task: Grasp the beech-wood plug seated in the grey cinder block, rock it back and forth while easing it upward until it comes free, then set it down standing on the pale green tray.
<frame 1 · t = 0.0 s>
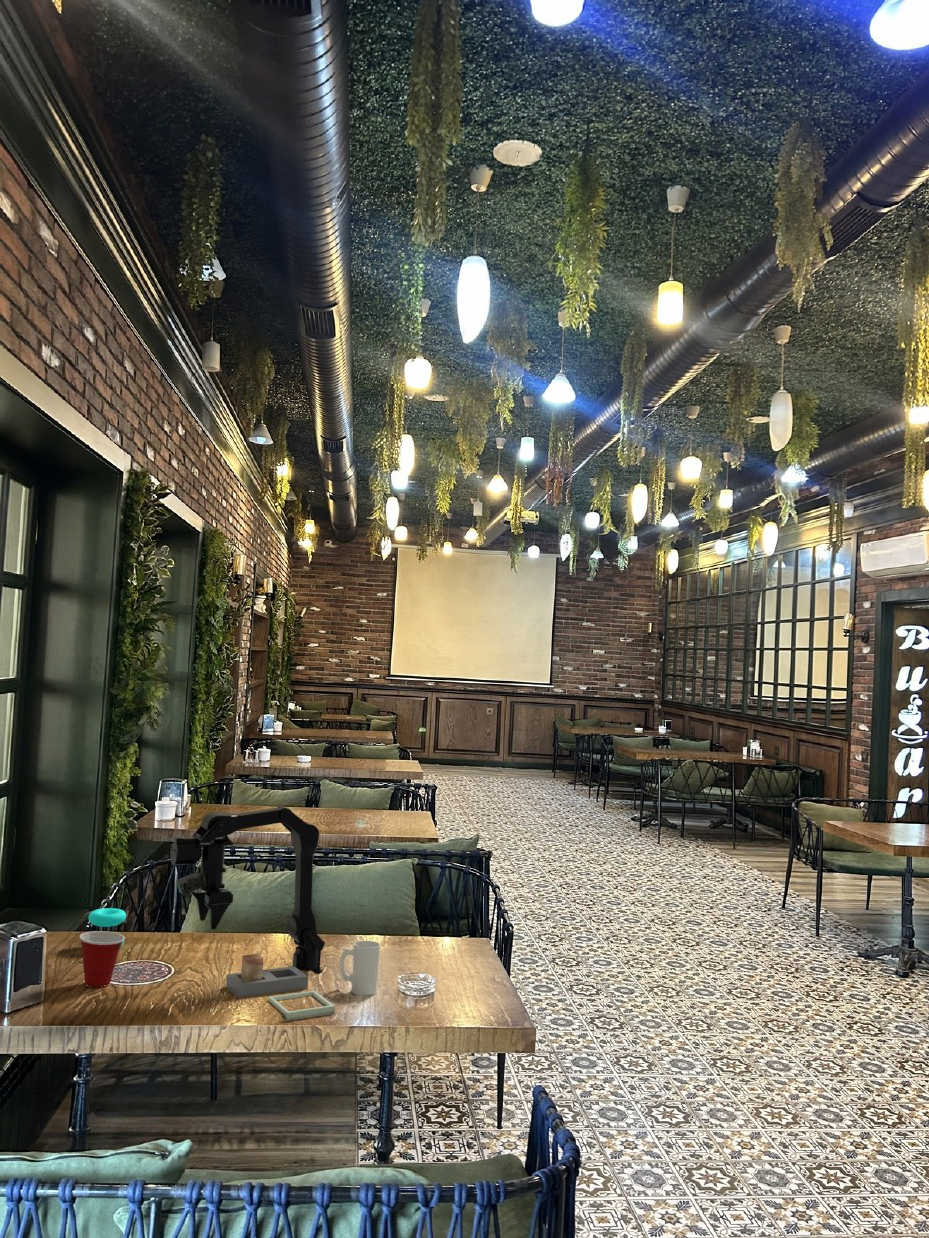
hand: (207, 924, 239), 15 cm above the table, fingers open, 9 cm apart
tray: (300, 1008, 224), on the table
plastic cup: (98, 984, 233), on the table
plug: (250, 989, 232), point 1 cm above the table, touching grey cinder block
grey cinder block: (266, 991, 235), on the table
donuts: (104, 947, 264), on the table
mug: (357, 992, 238), on the table
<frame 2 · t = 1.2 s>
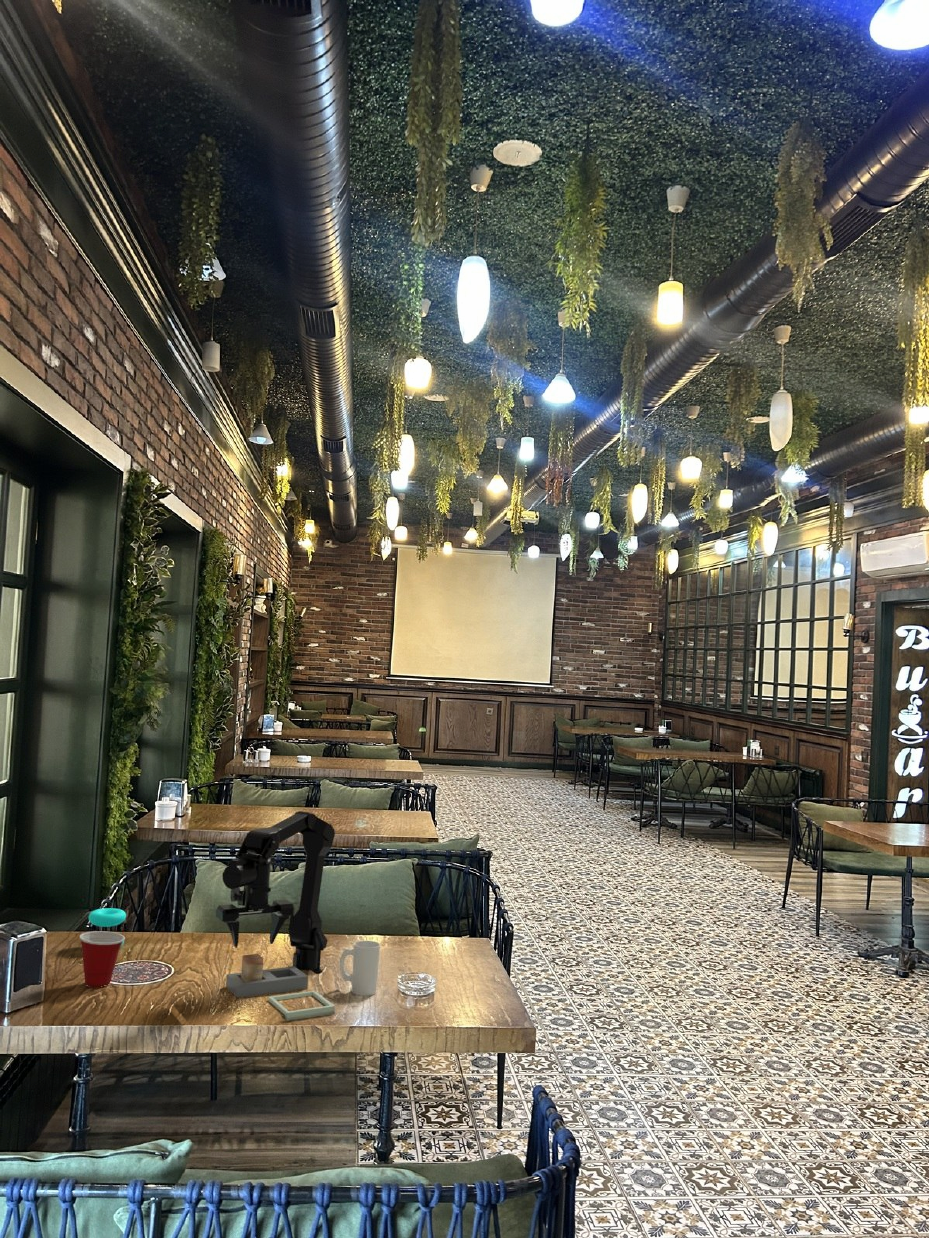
hand: (253, 945, 233), 12 cm above the table, fingers open, 9 cm apart
nothing on the table moved.
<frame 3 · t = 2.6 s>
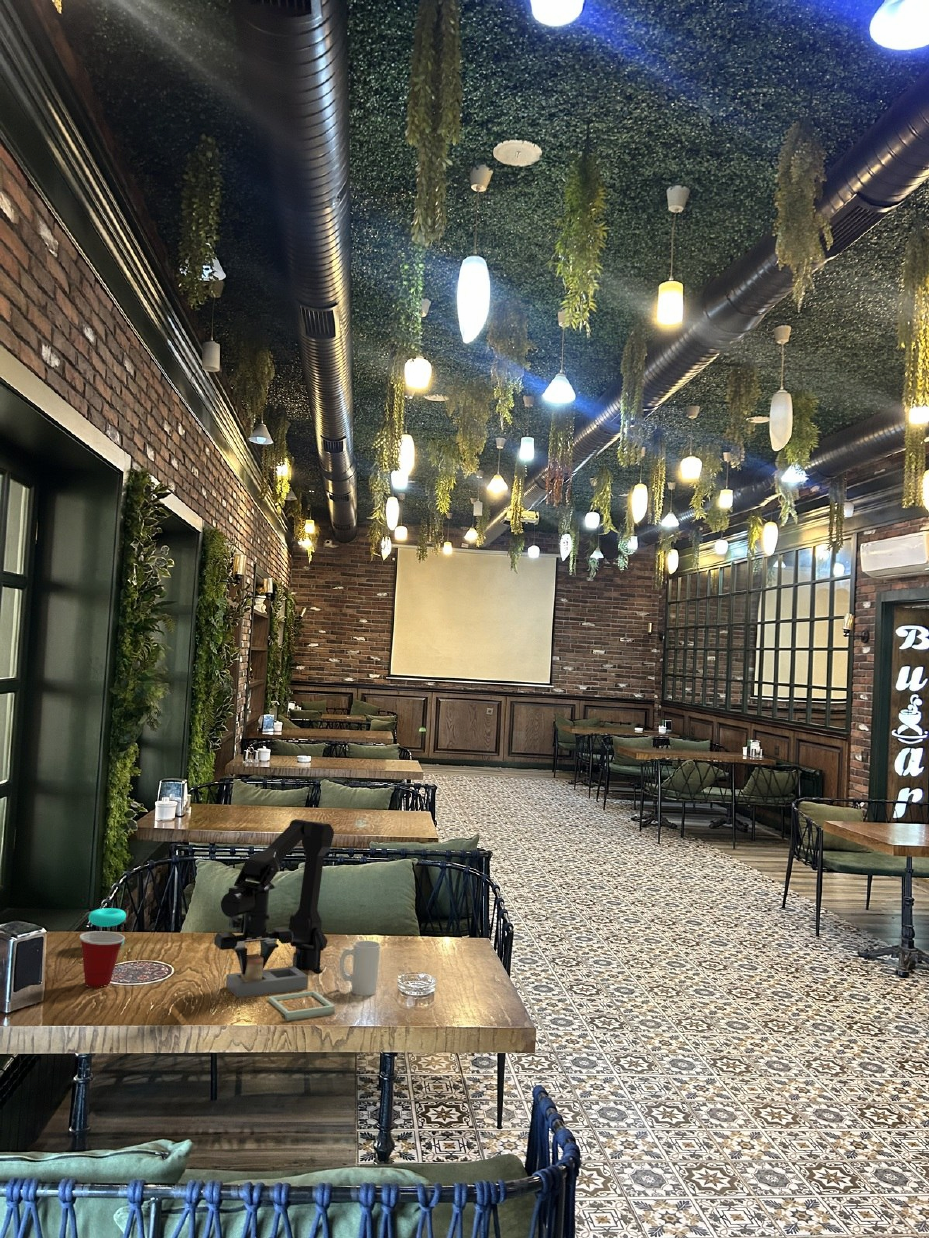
hand: (251, 972, 233), 5 cm above the table, fingers closed on plug, 4 cm apart
plug: (250, 989, 232), point 1 cm above the table, touching gripper, grey cinder block
everything else where it was.
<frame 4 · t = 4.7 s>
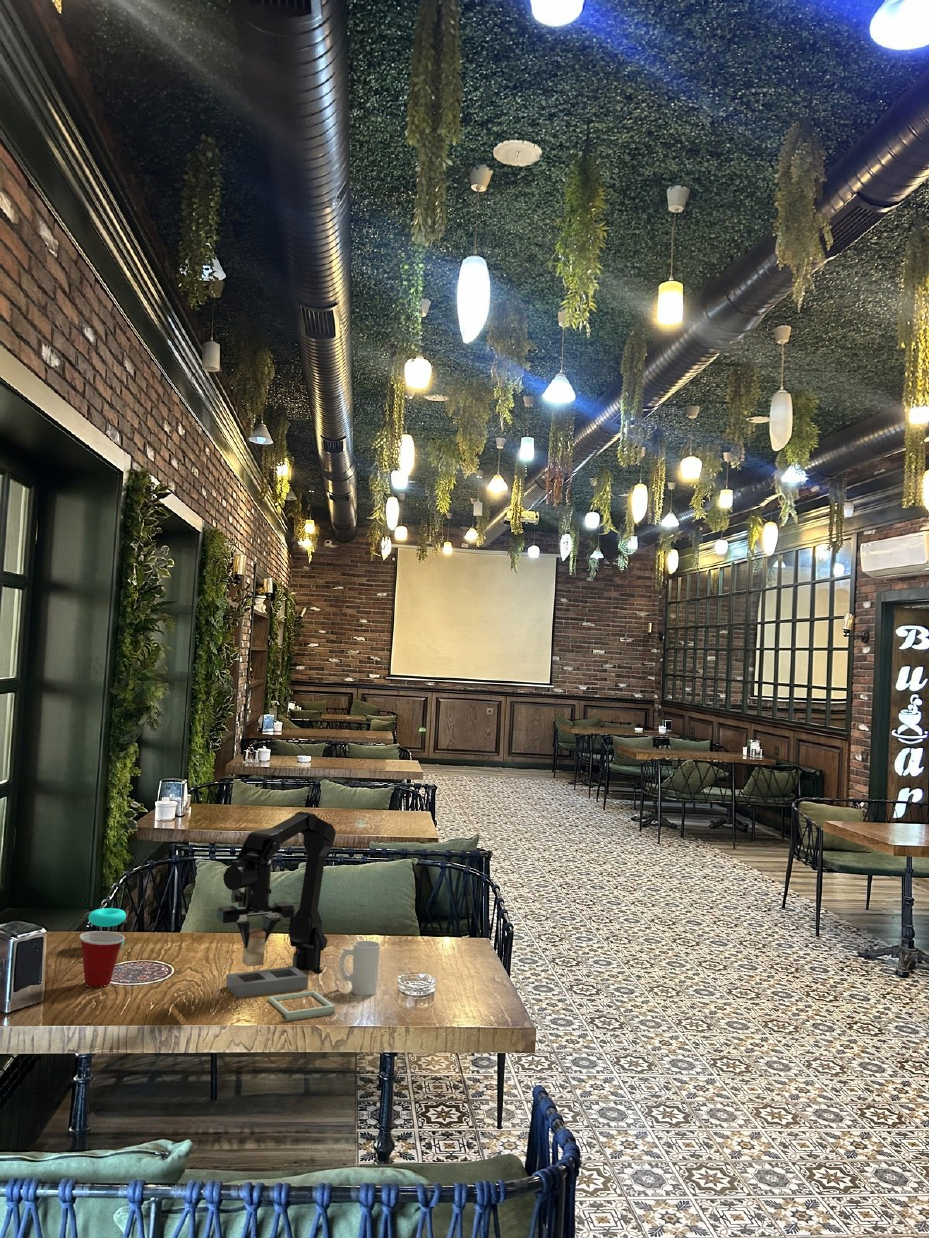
hand: (254, 946, 233), 11 cm above the table, fingers closed on plug, 4 cm apart
plug: (252, 963, 233), point 7 cm above the table, touching gripper
everything else where it was.
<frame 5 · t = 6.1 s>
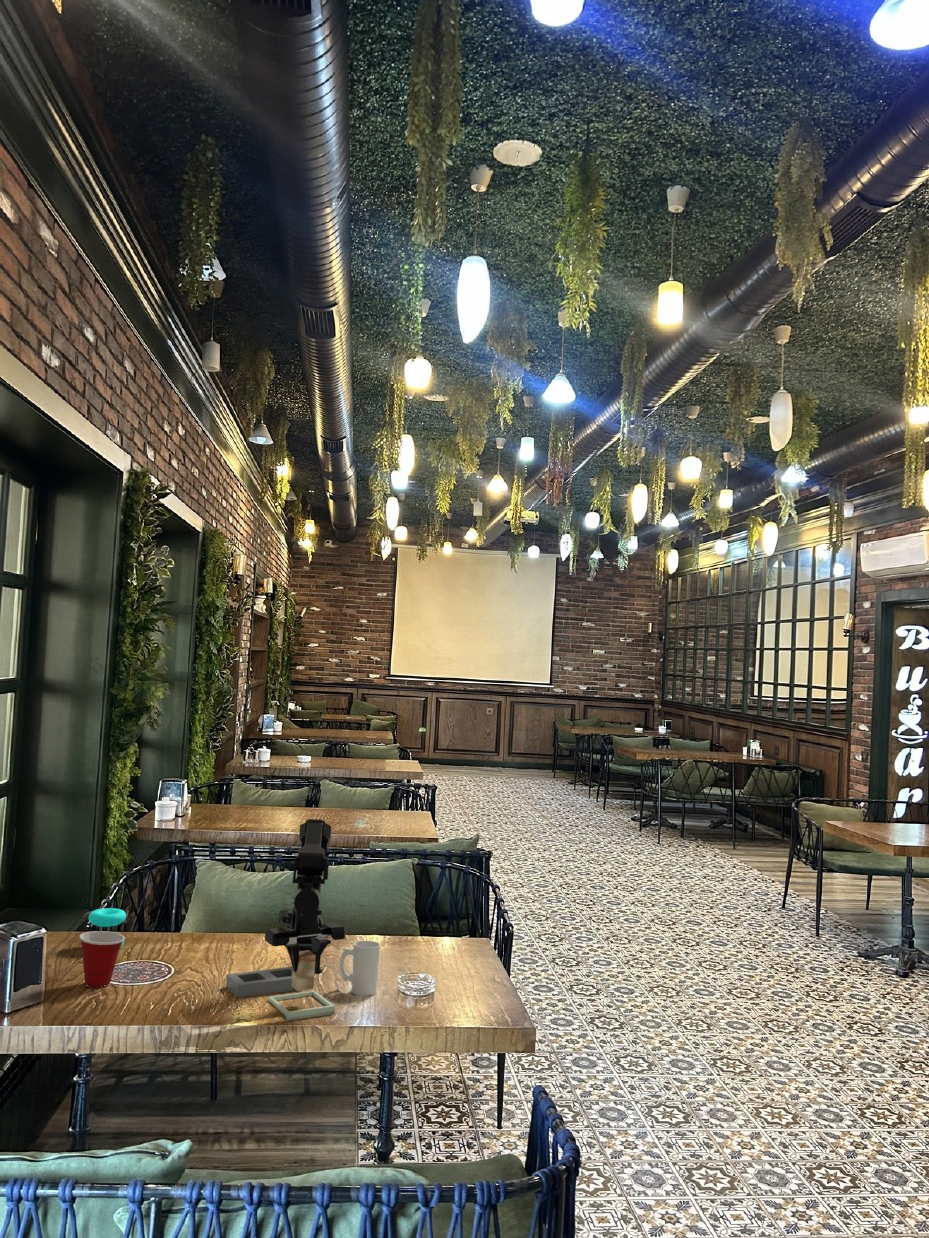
hand: (303, 970, 224), 9 cm above the table, fingers closed on plug, 4 cm apart
plug: (302, 987, 224), point 5 cm above the table, touching gripper
everything else where it was.
when the fingers open (6 cm above the table, at t = 7.0 s): plug stays where it is, resting on tray.
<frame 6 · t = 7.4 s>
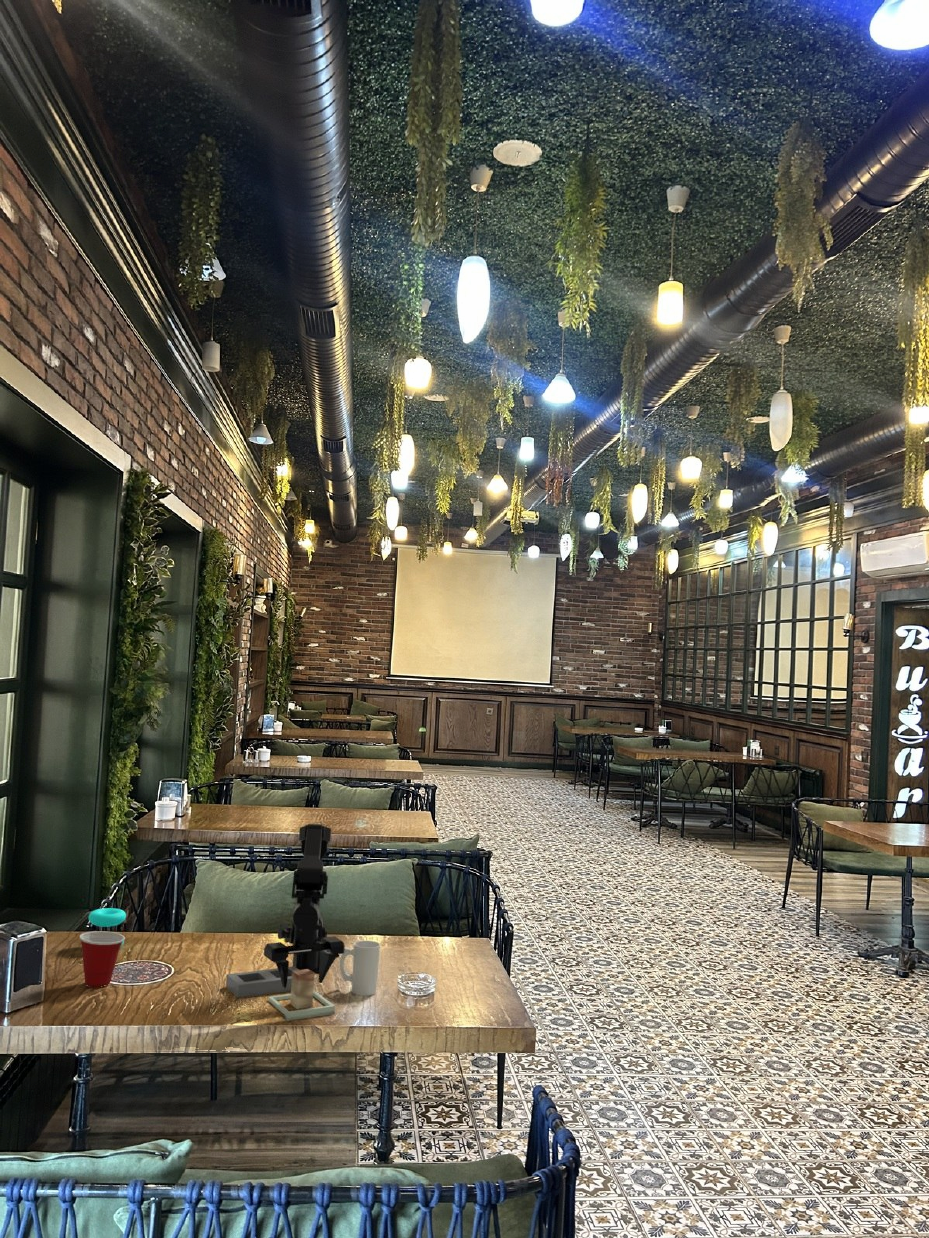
hand: (302, 984, 224), 6 cm above the table, fingers open, 9 cm apart
plug: (301, 1006, 224), point 1 cm above the table, touching tray
everything else where it was.
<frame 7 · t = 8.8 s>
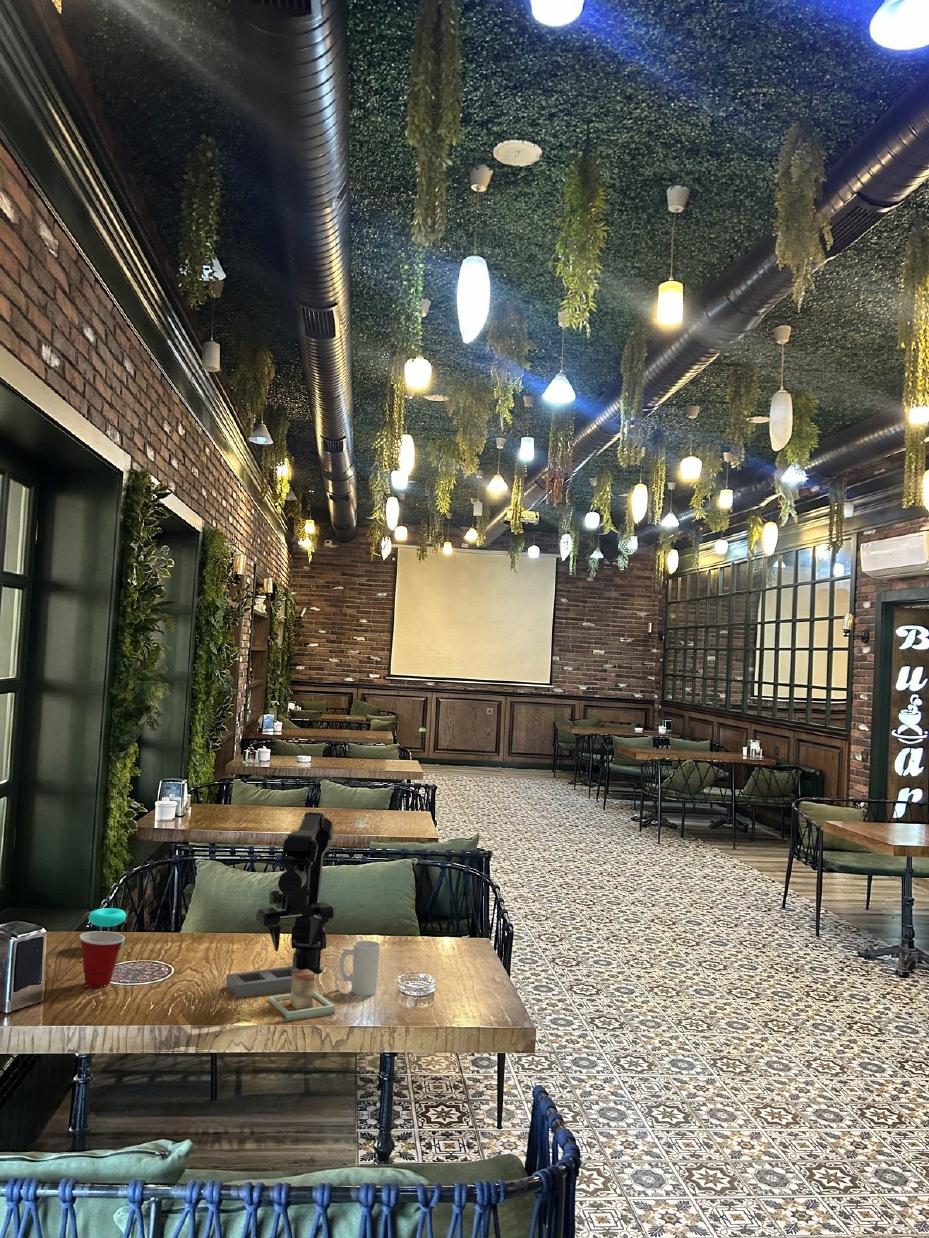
hand: (293, 948, 232), 12 cm above the table, fingers open, 9 cm apart
nothing on the table moved.
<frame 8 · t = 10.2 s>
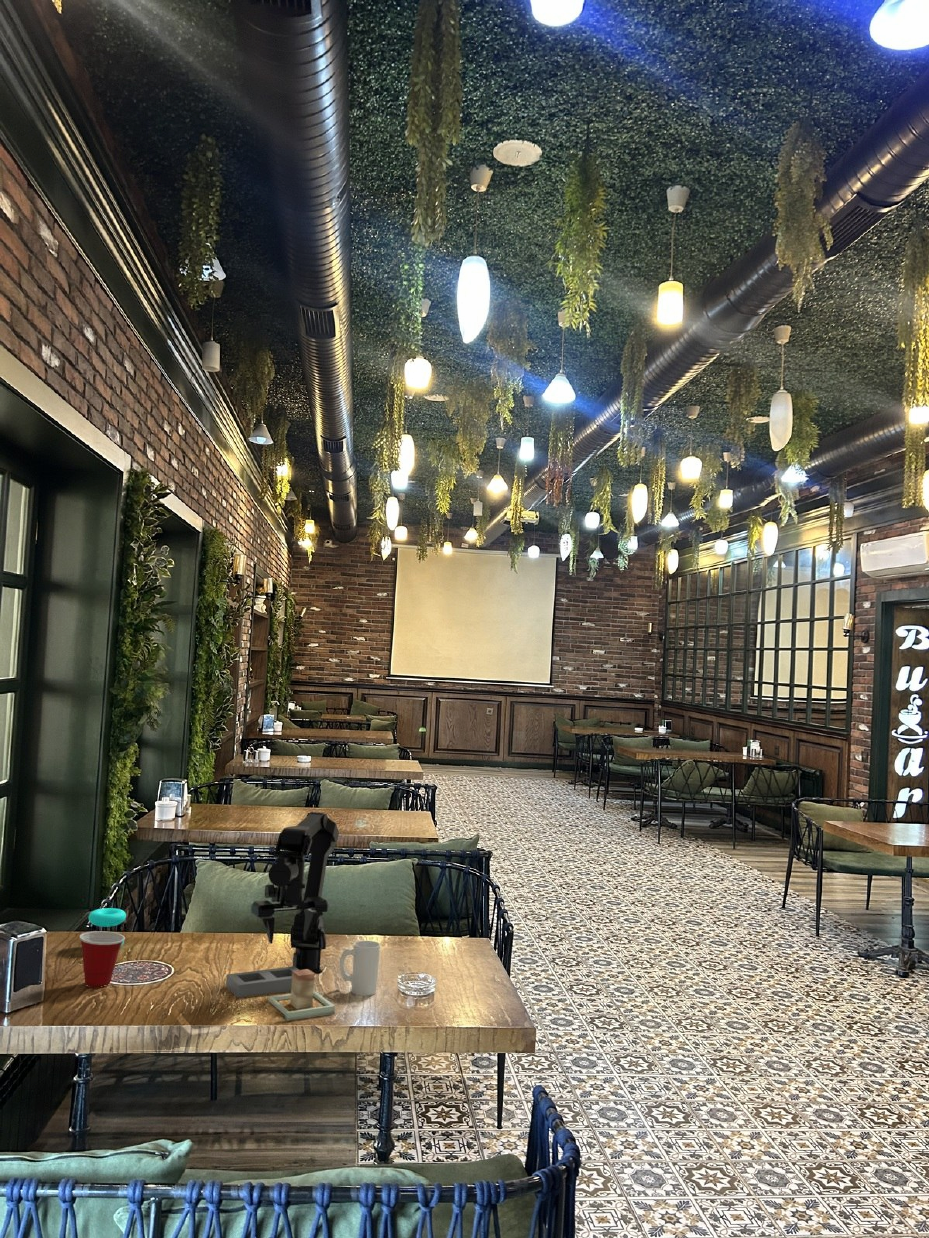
hand: (287, 941, 236), 13 cm above the table, fingers open, 9 cm apart
nothing on the table moved.
at the end: plug inside the target area on the tray (0.0 cm from its centre), point 0.6 cm above the tray's base; plug tilted 0°; the gripper is holding nothing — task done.
